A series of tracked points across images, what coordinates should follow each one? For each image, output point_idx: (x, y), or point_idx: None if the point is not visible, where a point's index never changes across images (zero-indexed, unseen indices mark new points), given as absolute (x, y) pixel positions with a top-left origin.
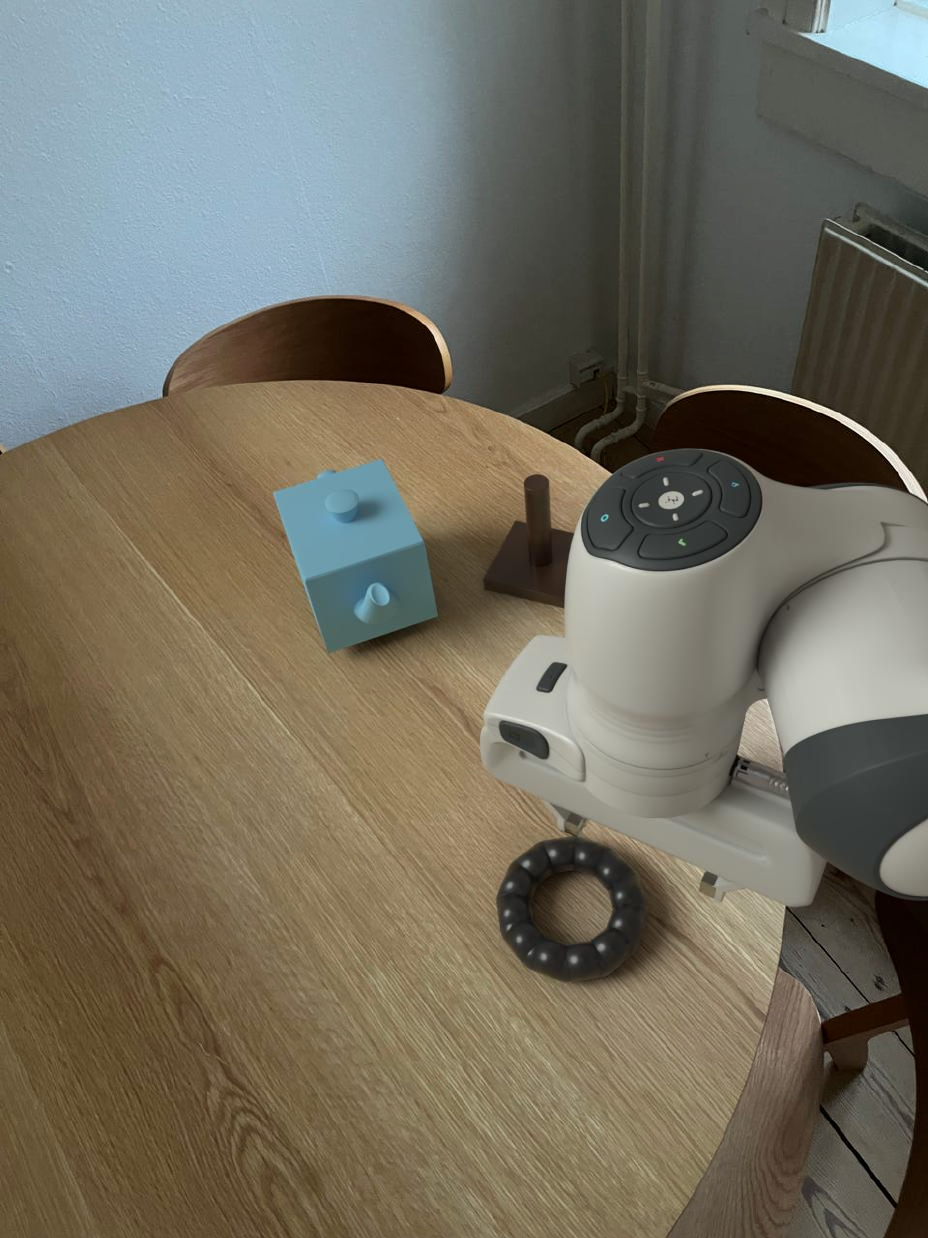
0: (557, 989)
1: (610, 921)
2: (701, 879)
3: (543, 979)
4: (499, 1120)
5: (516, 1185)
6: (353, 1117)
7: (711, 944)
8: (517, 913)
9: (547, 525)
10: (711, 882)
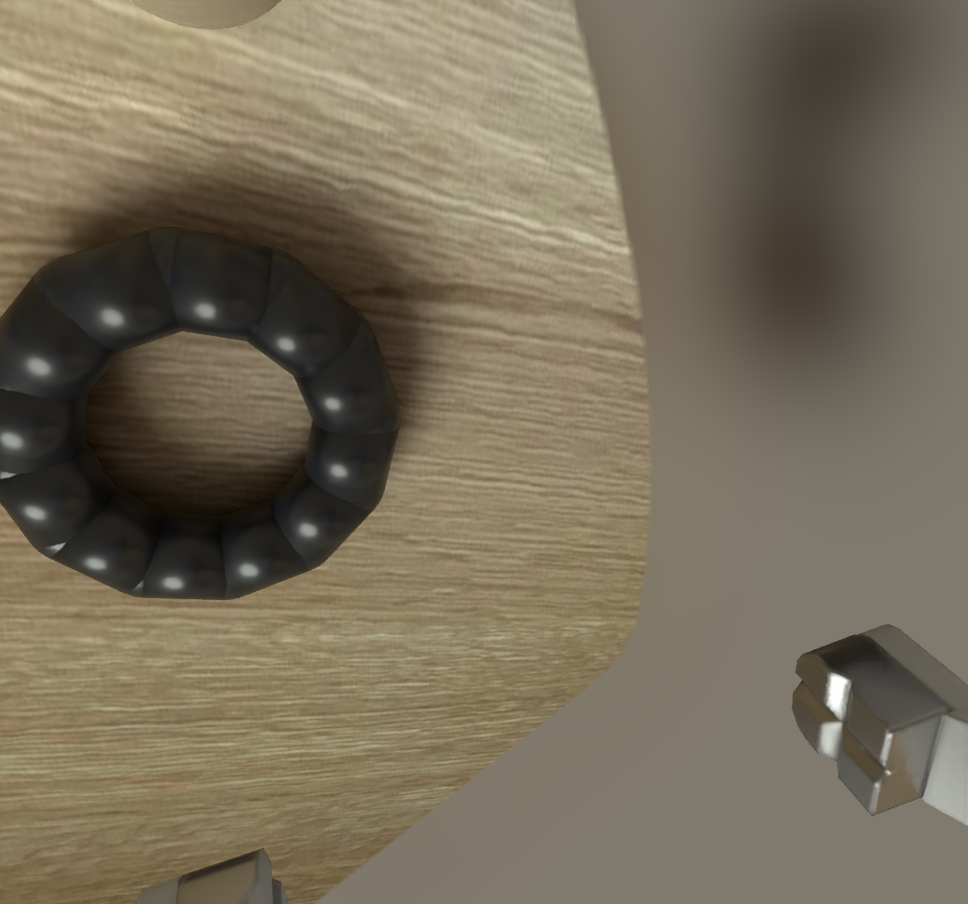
0: None
1: (316, 416)
2: (873, 811)
3: None
4: (375, 728)
5: (449, 750)
6: (193, 868)
7: (510, 263)
8: (126, 565)
9: None
10: (910, 794)
